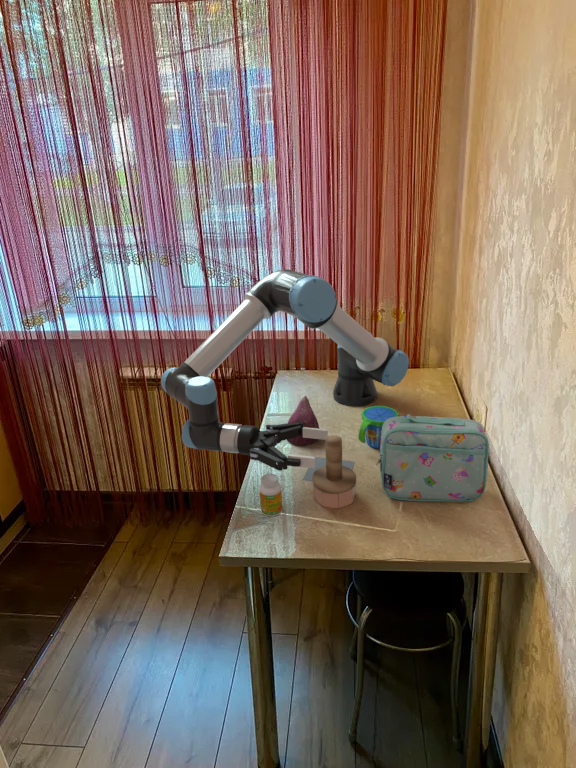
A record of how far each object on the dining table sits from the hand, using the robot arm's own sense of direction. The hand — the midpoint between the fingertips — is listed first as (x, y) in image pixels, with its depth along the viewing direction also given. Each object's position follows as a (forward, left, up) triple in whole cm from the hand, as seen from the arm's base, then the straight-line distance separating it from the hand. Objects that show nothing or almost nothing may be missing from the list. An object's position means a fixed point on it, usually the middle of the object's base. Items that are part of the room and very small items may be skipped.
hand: (321, 448), depth 138 cm
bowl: (0, +3, -14) cm, 15 cm away
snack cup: (-29, +10, -14) cm, 34 cm away
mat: (-11, -1, -14) cm, 18 cm away
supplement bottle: (+9, -11, -14) cm, 20 cm away
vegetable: (-27, -13, -15) cm, 33 cm away
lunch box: (-8, +26, -15) cm, 31 cm away
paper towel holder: (0, +3, -9) cm, 10 cm away
